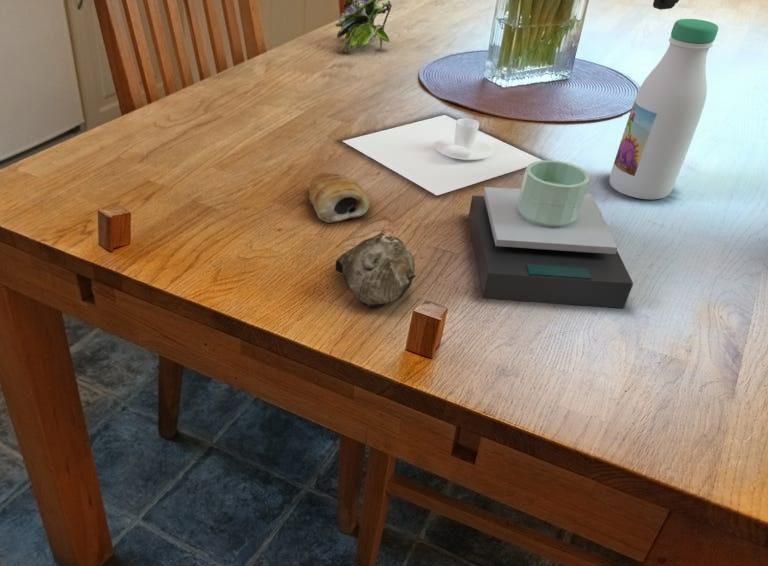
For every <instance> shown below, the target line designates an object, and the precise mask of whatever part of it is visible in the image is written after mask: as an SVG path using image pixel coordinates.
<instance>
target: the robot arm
mask: <svg viewBox="0 0 768 566" xmlns="http://www.w3.org/2000/svg"><path fill="white" fill-rule="evenodd" d="M679 1H680V0H653V3H652V7H653V8H654V9H657V10H661V11H663V10H668V9H673V8H674V7H675V6H676V4H678V3H679Z"/></svg>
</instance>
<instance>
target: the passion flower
mask: <svg viewBox="0 0 768 566" xmlns="http://www.w3.org/2000/svg"><path fill="white" fill-rule="evenodd" d="M379 1H380V0H345V2H344V3H343V4H342V5H343V8H344V9H345V11H344V12H342V13H340V14H341V15H339V16H338V22H335V27H337V28H340V29H339V30H338V32H337V34H336V38H341V37H343V36H344V37H343V42H342V49H343V51H344V53H345V54H346V53H347V49H348V50H349V51H352V50H354V49H356V48H358V47H359V48H364V47H365V46H366V45H368V44H369V43H371V40H373V38H376V36H377V37H378V38H379V48H380V51H382V49H383V48H382V47H383V43H384V42H387V43H390V38H389V36H388V34H387V33H386V32H385V25H386V24H387V20H388V17H389V15H390V12H391V9H392V6H393V5H392V3H391V1H390V0H385V1H383V2H381V5H382V6H379ZM385 7H386V8H385ZM386 12H387V13H386ZM380 14H383V15H384V14H386V15H385V18H384V19H383V23H382V24H377V25H375V19H376V18H377V16H378V15H380ZM383 41H384V42H383Z"/></svg>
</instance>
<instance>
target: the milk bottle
mask: <svg viewBox="0 0 768 566" xmlns="http://www.w3.org/2000/svg"><path fill="white" fill-rule="evenodd" d="M718 32H719V26H718V24H717V23H714V22H711V21H709V20H703V19H697V18H680V19H678V20H676V21H674V23H673V26H672V28H671V32H670V37H669V38H668V42H669V46H668V48H667V49H666V51H665V53H664V55H663V56H662V58H661V59H660V60H659V62H658V63H657V64H656V66H655V67H654V68H653V69H652V70H651V72H649V74H648V75H647V76H646V78H645V79H644V81H643V82H642V84H641V85H640V87H639V89H638V91H637V93H636V96H635V99H634V102H633V104H632V106H631V110H630V111H629V115H628V118H627V121H626V125H625V128H624V131H623V133H622V136H621V139H620V143H619V146H618V149H617V152H616V154H615V158H614V162H613V164H612V167H611V171H610V174H609V178H608V179H609V184H610V186H611V187H612V188H613V189H614V190H615V191H617V192H619V193H621V194H623V195H625V196H628V197H632V198H636V199H642V200H660V199H665V198H666V197H668V196H669V195H670V194H671V193H672V191H673V189H674V187H675V184H676V182H677V179H678V177H679V175H680V172H681V170H682V167H683V164H684V162H685V159H686V156H687V154H688V151H689V148H690V147H691V146H690V145H691V144H692V141H693V138H694V135H695V132H696V130H697V127H698V125H699V122H700V120H701V116H702V114H703V111H704V107H705V103H706V99H707V93H708V83H707V69H706V67H707V56H708V52H709V50H710V48H712V47H713V44H714V40H715V39H716V37H717V34H718Z"/></svg>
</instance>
